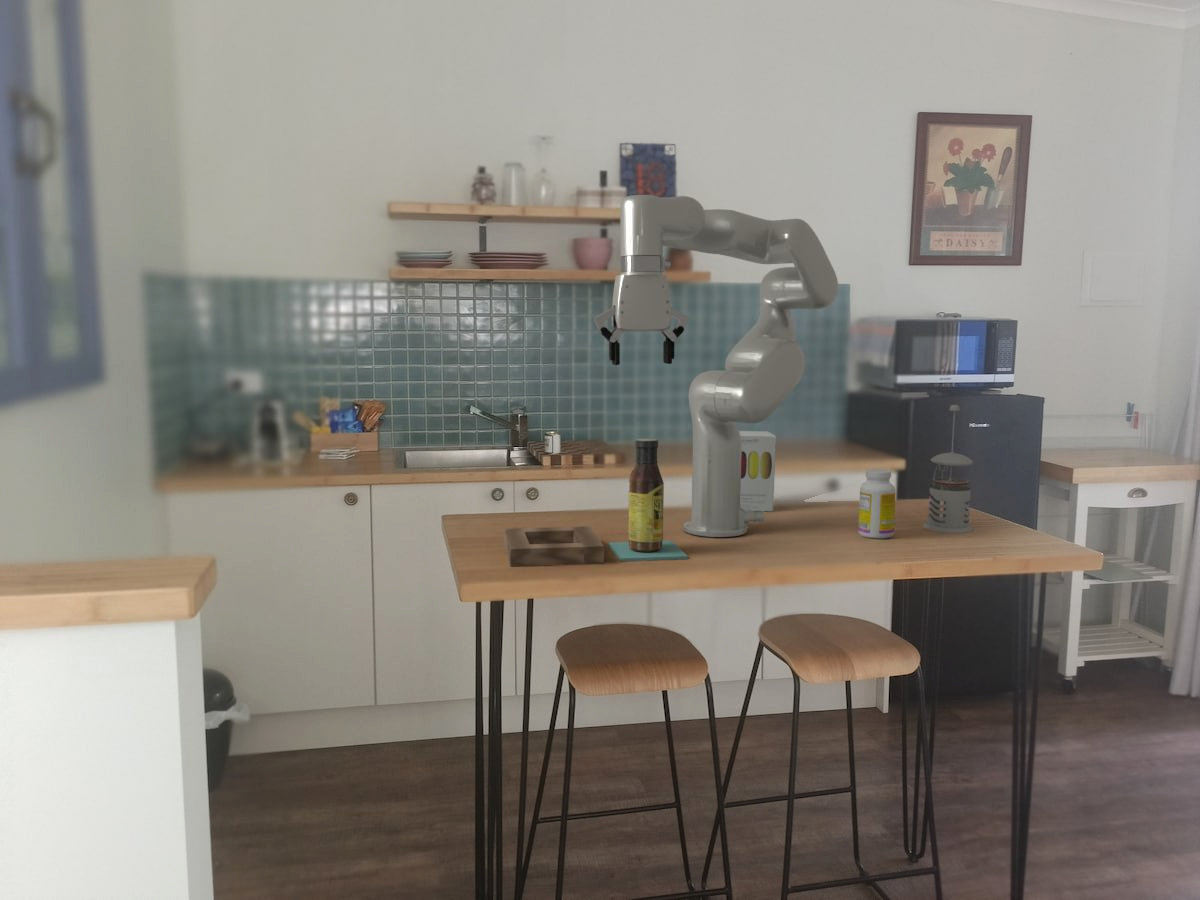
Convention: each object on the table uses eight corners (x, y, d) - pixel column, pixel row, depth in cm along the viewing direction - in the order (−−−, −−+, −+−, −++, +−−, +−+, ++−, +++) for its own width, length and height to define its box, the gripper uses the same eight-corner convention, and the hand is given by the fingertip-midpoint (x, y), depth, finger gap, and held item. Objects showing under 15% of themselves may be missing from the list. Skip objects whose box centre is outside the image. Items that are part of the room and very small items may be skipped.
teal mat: (671, 543, 183) (671, 540, 183) (687, 558, 171) (687, 556, 171) (608, 545, 181) (608, 542, 181) (620, 561, 169) (620, 558, 169)
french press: (932, 532, 193) (939, 406, 190) (912, 520, 205) (918, 401, 202) (981, 532, 194) (989, 407, 190) (958, 520, 205) (965, 401, 202)
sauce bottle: (660, 554, 172) (661, 442, 170) (625, 552, 174) (626, 441, 171) (665, 545, 179) (666, 437, 176) (631, 543, 180) (632, 436, 177)
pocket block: (589, 541, 184) (589, 526, 183) (604, 563, 168) (604, 546, 167) (504, 544, 181) (504, 528, 181) (510, 566, 165) (510, 549, 165)
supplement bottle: (896, 534, 192) (899, 469, 190) (890, 541, 186) (894, 474, 184) (861, 530, 195) (864, 466, 193) (855, 537, 189) (858, 471, 187)
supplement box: (730, 512, 213) (732, 435, 210) (724, 503, 222) (725, 430, 219) (774, 512, 213) (777, 435, 211) (766, 503, 222) (768, 430, 220)
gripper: (682, 268, 179) (681, 361, 182) (589, 268, 175) (590, 363, 178) (694, 266, 172) (694, 364, 174) (598, 266, 168) (599, 366, 171)
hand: (641, 364), depth 176 cm, fingers open, 9 cm apart
